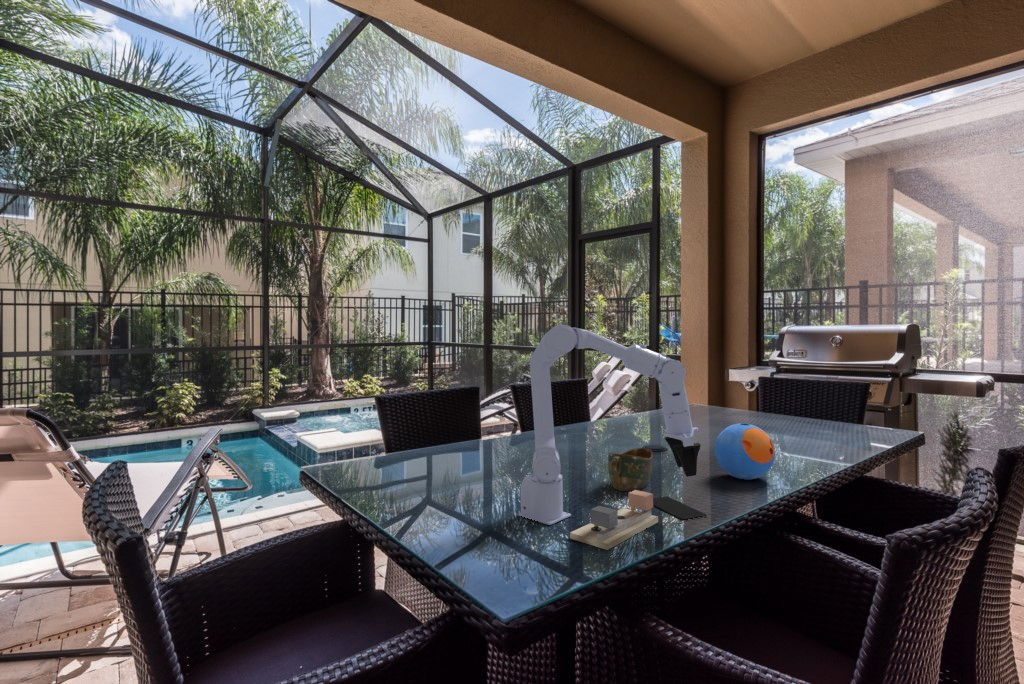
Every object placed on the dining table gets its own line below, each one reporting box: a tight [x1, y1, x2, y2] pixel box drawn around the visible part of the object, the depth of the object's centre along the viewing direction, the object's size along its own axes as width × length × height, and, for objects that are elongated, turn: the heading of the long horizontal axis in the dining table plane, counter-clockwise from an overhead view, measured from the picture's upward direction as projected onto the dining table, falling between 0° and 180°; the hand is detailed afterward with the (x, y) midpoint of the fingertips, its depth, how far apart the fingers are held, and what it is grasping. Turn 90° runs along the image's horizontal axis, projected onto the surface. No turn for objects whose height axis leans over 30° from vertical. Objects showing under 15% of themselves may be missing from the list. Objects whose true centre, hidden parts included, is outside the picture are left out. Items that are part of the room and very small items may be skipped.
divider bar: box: [597, 509, 652, 541], centre depth 113 cm, size 1×19×1 cm, turn 137°
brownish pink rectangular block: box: [627, 490, 654, 511], centre depth 121 cm, size 5×3×4 cm, turn 47°
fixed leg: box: [590, 505, 619, 529], centre depth 111 cm, size 5×3×4 cm, turn 46°
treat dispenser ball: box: [714, 422, 776, 481], centre depth 151 cm, size 16×15×15 cm
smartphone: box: [653, 496, 707, 521], centre depth 127 cm, size 7×1×15 cm
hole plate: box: [569, 507, 659, 551], centre depth 115 cm, size 9×20×1 cm, turn 136°
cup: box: [607, 447, 654, 493], centre depth 147 cm, size 13×20×10 cm, turn 118°
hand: (686, 470), depth 121 cm, fingers open, 7 cm apart
